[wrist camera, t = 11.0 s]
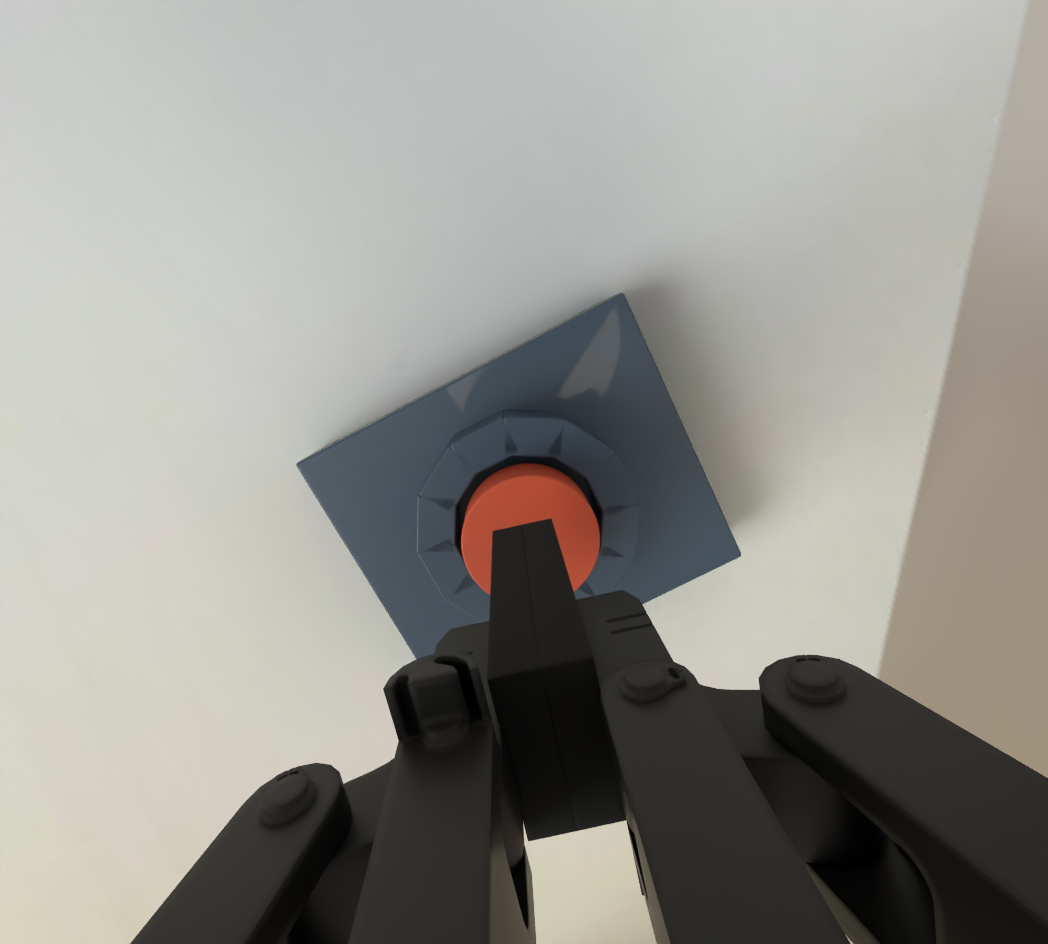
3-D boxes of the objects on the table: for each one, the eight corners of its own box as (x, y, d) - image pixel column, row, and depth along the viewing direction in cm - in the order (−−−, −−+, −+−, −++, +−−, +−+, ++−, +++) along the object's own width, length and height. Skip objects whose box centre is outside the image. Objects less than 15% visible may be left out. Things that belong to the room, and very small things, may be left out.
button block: (610, 296, 20) (636, 286, 16) (719, 536, 22) (766, 576, 19) (315, 452, 21) (273, 476, 17) (447, 669, 23) (436, 735, 19)
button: (556, 440, 18) (562, 450, 16) (611, 549, 19) (623, 570, 17) (441, 499, 18) (435, 514, 16) (501, 604, 19) (501, 630, 17)
